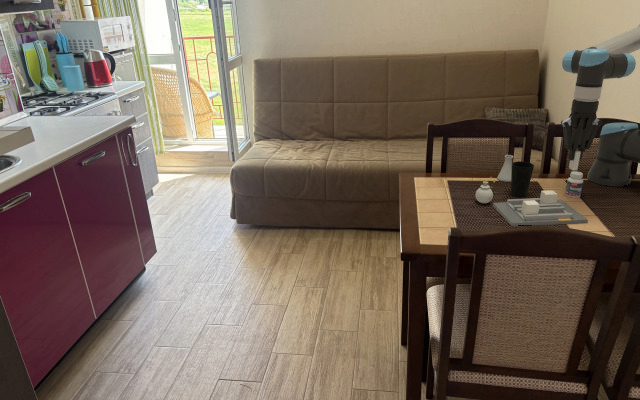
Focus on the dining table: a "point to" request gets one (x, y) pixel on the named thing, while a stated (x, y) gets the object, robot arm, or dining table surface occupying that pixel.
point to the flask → (506, 169)
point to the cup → (521, 178)
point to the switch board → (539, 213)
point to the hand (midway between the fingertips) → (572, 169)
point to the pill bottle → (574, 185)
